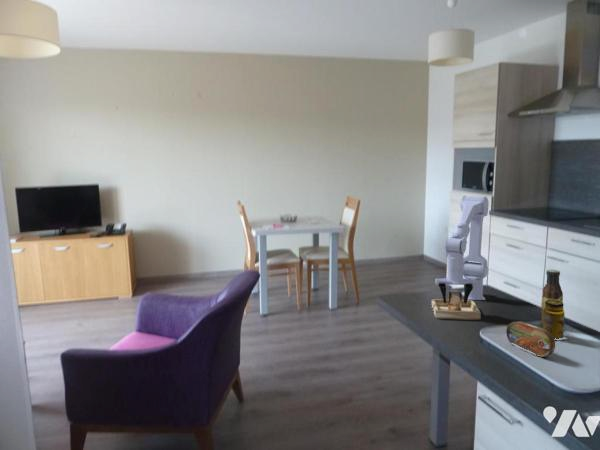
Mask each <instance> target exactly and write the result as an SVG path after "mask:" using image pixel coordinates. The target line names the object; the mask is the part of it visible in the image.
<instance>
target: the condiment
mask: <svg viewBox="0 0 600 450" xmlns="http://www.w3.org/2000/svg"><path fill="white" fill-rule="evenodd" d="M564 305H565V304H564V303H562V302H560V301H557V300H547V301H546V302H545V308H544V309H543V324H542V326H541V327H542V329H545V330H547V331H548V332H549V333H550V334H551V335H552V336H553V338H554V339H555V338H556V339H559V338H563V336H564V330H565V329H564V328H565V327H564V326H565V309H564Z"/></svg>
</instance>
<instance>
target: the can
mask: <svg viewBox="0 0 600 450" xmlns="http://www.w3.org/2000/svg"><path fill="white" fill-rule="evenodd" d="M462 292H463V291H462V290H458V289H449V290H448V294H447V295H448V299H447V300H448V311H461V300H463V299H462V296H463V294H462Z"/></svg>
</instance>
